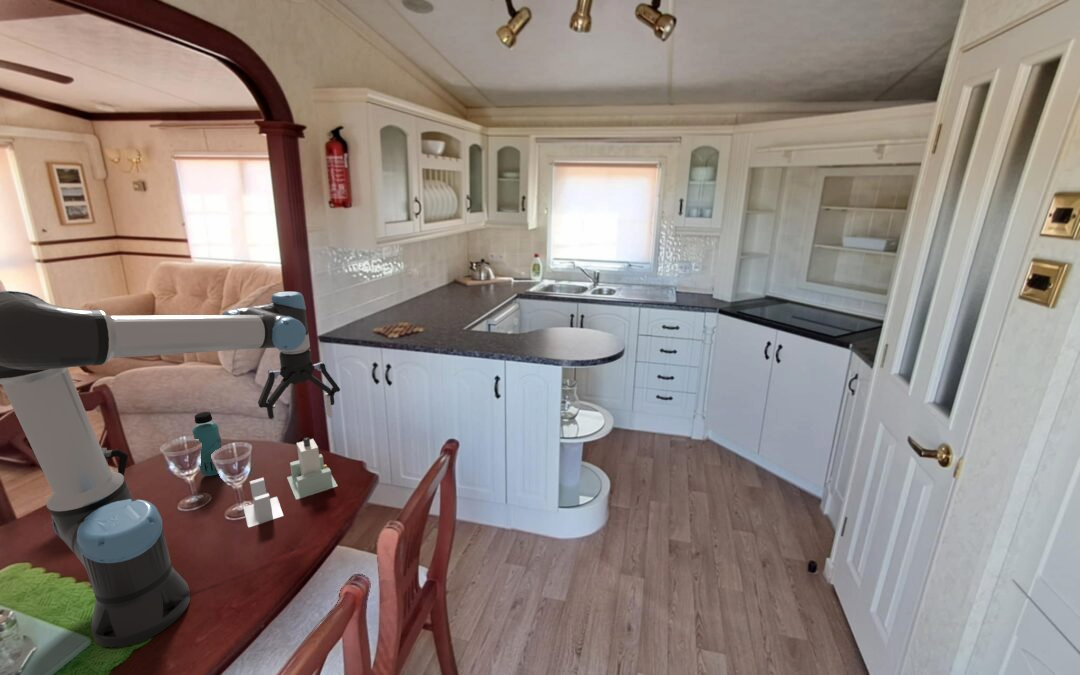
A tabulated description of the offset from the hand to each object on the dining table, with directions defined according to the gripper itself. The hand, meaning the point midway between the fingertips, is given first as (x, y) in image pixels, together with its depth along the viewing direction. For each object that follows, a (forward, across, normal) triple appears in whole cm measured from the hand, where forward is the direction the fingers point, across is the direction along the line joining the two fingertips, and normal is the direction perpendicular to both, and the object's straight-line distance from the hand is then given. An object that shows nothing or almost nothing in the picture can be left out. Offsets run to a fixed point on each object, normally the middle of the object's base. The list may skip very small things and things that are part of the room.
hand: (303, 421), depth 132 cm
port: (+20, 0, 0) cm, 20 cm away
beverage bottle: (+21, +22, -22) cm, 38 cm away
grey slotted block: (+20, +13, +7) cm, 25 cm away
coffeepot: (+21, +47, -22) cm, 56 cm away
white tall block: (+19, 0, 0) cm, 19 cm away
